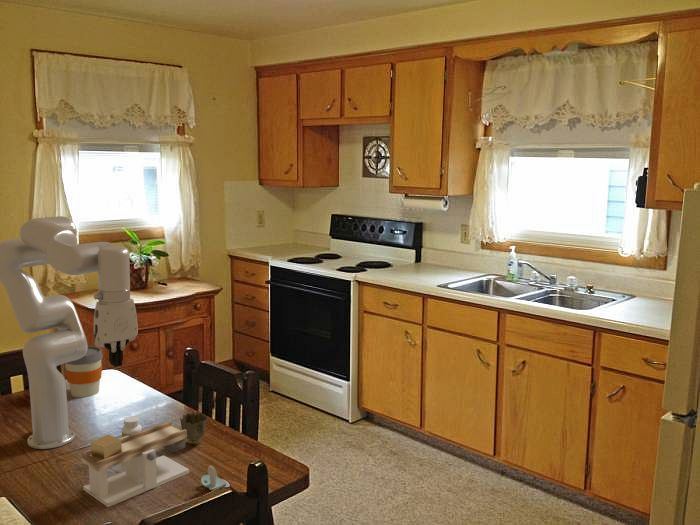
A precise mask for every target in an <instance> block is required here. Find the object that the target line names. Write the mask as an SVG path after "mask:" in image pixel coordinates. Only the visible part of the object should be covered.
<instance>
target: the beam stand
mask: <svg viewBox="0 0 700 525" xmlns="http://www.w3.org/2000/svg"><path fill="white" fill-rule="evenodd" d="M125 437H127V436H125ZM122 438H124V437H122V436H120V437H118V439H122ZM156 454H157V453H156V450H154V449H151V450H149V451H146V452H143V453H142V455H141V456H138V457H136V458H133V459H130V460H128V461H125V462H123V463H120V464H118V471H119V472H117V473H114V474H112V475H109V476H108V471H107V470H108V468H107V469H104V470H102V471H99V472H97V471H96V470H94V469H93V468H91V467H90V466H88V476H89V477H88V478H89V483H88V484H85V485H83V487H82V488H83V491H84V492H85V493H87V494H89V495H90V496H92V497H93V498H94V499H96V500H97V501H98V502H100V503H101V504H102V505H104V506H105V507H107V508H109V507H110V508H111V507H112V506H115V505H117V504H120V503H121V502H124V501H126V500H129V499H131V498H133V497H136V496H138V495H140V494H143V493H145V492H148V491H150V490H152V489H154V488H158V487H160V486H161V485H164V484H166V483H170V482H171V481H174V480H176V479H179V478H181V477H184V476H186V475H188V474H190V469H189V468H188V467H186V466H184V465H183V464H180V463H178V462H177V461H175V460H173V459H171V458H170V457H168V456H165V454H164V455H161V456H158V457H157V456H156Z"/></svg>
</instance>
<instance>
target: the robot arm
mask: <svg viewBox="0 0 700 525" xmlns="http://www.w3.org/2000/svg"><path fill="white" fill-rule="evenodd" d="M77 235H78V231H77V227H76V225H75V223H74V222H73V220H72V219H71V218H69V217H66V216H62V215H61V216H60V215H59V216H58V215H56V216H50V217H49V216H47V217H36V218H35V217H34V218H31V219H29V220H27V221H25V222H24V223H23V224H22V225H21V227H20V229H19V237H17V238H12V239H11V238H10V239H6V240H2V241H0V284H1V285H2V287H3V288H4V289H5V291H6V294H7V297H8V300H9V303H10V305H11V307H12V311H13V314H14V317H15V318H16V321H17V324H18V326H19V328H20V329H21V331H22V332H24V333H27V334H31V333H38V332H44V331H47V330H53V329H57V330H58V331H52V332H48V333H44V334H40V335H37V336H34V337H31V338H30V339H28V340H27V341H26V342H25V343H24V345H23V346H22V356H23V359H24V360H23V361H24V364H25V367H26V372H27V377H28V378H27V379H28V387H29V389H28V390H29V398H30V400H29V401H30V412H31V413H30V415H31V426H32V434H31V435H29V437H28V438H27V440H26V441H27V445H28V446H29V447H30V448H33V449H36V450H37V449H38V450H46V449H47V450H48V449H56V448H58V447H62V446H65V445H68V443H70V442H72V441H73V440H74V439H75V437H76V433H75V431H74V430H73V429H71V428H69V414H68V412H69V410H68V399H67V398H68V397H67V396H68V395H67V385H66V384H67V382H66V377H65V376H64V375H63V374H62V373H61V372H60V371H59V370H58V368H57V367H58V366H61V365H64V364H65V363H67V362H71V361H74V360H78V359H80V358H82V357H84V356H85V354H86V353H87V349H88V341H87V337H86V334H85V331H84V328H83V324H82V322H81V321H80V317H79V315H78V311H77V309H76V306H75V304H74V303H73V301H72V300H71V299H70V298H69V297H67V296H66V295H64V294H55V295H50V296H45V295H44V294H43V292H42V290H41V288H40V285H39V282H38V281H37V280H36V279H35V277H33V275H31V274H30V273H28V272H26V271H25V270H24V269H23V268H31V267H37V266H43V265H45V266H46V265H50V267H52V268H53V269H54V270H55V271H59V272H60V273H63V274H66V275H70V276H79V275H84V274H90V273H91V274H92V273H97V286H98V287H97V288H98V289H97V293H95V294H93V299H94V300H98V301H96V304H95V308H94V315H93V338H94V339H95V340H94V347H99V348H105V349H106V350H107V351H108V361H109V364H110V365H111V366H113V367H115V368H117V367H122V366H123V361H124V350H125V349H126V346H127V345H128V343H130V342H132V341H134V340H135V339H136V337H137V335H138V334H139V333H138V332H139V327H138V326H139V323H138V316H137V314H138V313H137V310H136V305H135V301H134V298H131V272H130V271H131V270H130V269H131V266H130V251H129V250H128V248H127V247H124V246H118V245H115V244H113V243H111V242H108V241H96V242H86V243H78V238H77ZM77 243H78V244H77Z"/></svg>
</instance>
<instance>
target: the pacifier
mask: <svg viewBox="0 0 700 525" xmlns="http://www.w3.org/2000/svg"><path fill="white" fill-rule="evenodd" d="M207 473H208V474H204V475H202V476H201V479H200V482H201V485H203V487H205V488H208V490H210V491H211V492H214V491H213V490H215V489H217V488H220V487H229V488H230V483H229V482H228V481H227V480H225V479H223V478H220V477H219V476H218V473H217V470H216V468H215V467H214V466H213V465H209V466H208V468H207Z"/></svg>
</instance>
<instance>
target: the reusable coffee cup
mask: <svg viewBox="0 0 700 525" xmlns="http://www.w3.org/2000/svg"><path fill="white" fill-rule="evenodd" d="M102 352H103V351H102V347H97V346H95V345H94V346H91V345H89V346H88V349H87V353H86V354H85V356H84V357H82V358H80V359H78V360H74V361H71V362H67V363H64V364H65V365H64V366H65V367H64V371H65V378H66V381H67V382H68V386H69V390H70V394H71V396H72V397H74V398H88V397H93V396H95V395H98V394H99V392H100V381H101V380H102V379H101V378H102V374H103V364H102V359H103V358H104V357H103V353H102ZM67 382H66V383H67Z"/></svg>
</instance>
